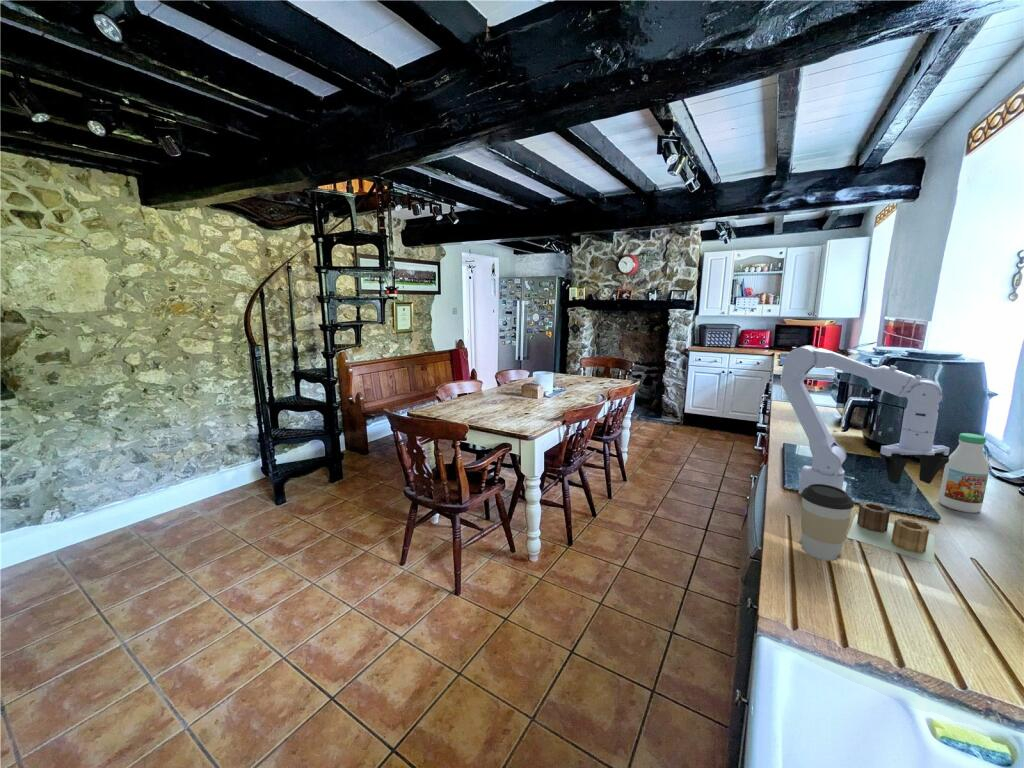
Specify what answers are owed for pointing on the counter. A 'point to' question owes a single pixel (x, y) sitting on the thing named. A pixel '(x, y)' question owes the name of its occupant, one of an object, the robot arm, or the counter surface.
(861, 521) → the walnut cog
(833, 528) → the coffee cup
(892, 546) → the board
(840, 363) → the robot arm
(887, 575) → the counter surface
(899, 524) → the oak cog
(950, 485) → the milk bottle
